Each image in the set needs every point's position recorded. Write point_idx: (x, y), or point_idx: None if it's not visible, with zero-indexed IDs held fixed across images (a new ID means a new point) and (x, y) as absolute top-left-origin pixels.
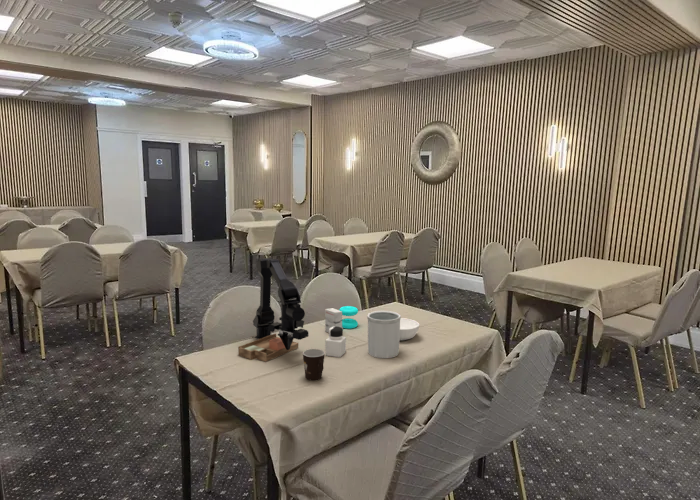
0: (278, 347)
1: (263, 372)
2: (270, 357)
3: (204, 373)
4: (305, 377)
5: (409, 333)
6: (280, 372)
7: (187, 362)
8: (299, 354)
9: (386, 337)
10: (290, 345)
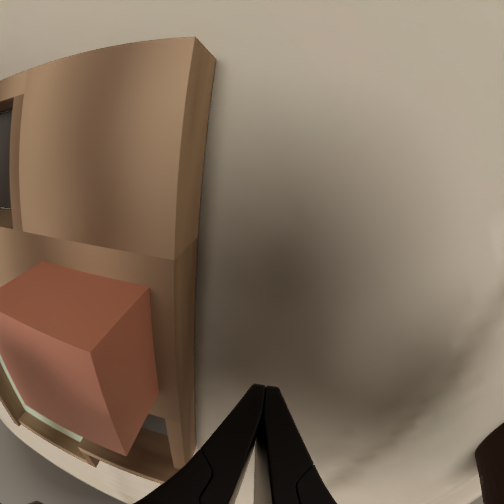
0: (146, 404)
1: None
2: (190, 436)
3: (123, 498)
4: (475, 457)
5: None
6: (355, 484)
7: (33, 446)
8: (353, 232)
9: None
10: (294, 433)
